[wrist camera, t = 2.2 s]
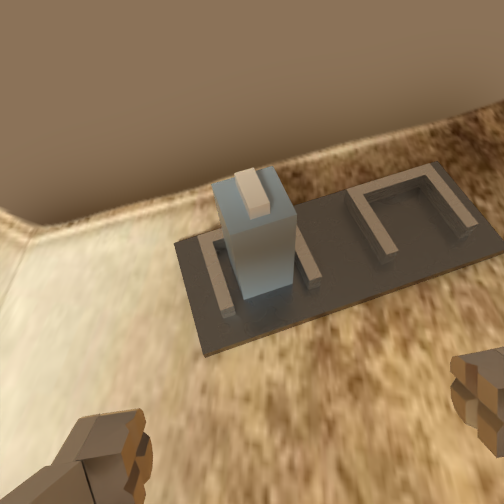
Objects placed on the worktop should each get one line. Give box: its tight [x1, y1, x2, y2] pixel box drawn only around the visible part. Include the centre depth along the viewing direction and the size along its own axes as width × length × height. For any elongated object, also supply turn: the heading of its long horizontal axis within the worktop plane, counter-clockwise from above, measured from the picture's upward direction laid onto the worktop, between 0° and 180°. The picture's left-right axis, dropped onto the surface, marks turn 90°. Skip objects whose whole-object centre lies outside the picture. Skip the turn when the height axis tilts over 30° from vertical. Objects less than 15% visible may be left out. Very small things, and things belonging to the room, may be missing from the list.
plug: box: [211, 166, 297, 300], centre depth 25 cm, size 4×4×10 cm
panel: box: [174, 161, 504, 358], centre depth 30 cm, size 25×10×2 cm, turn 109°
